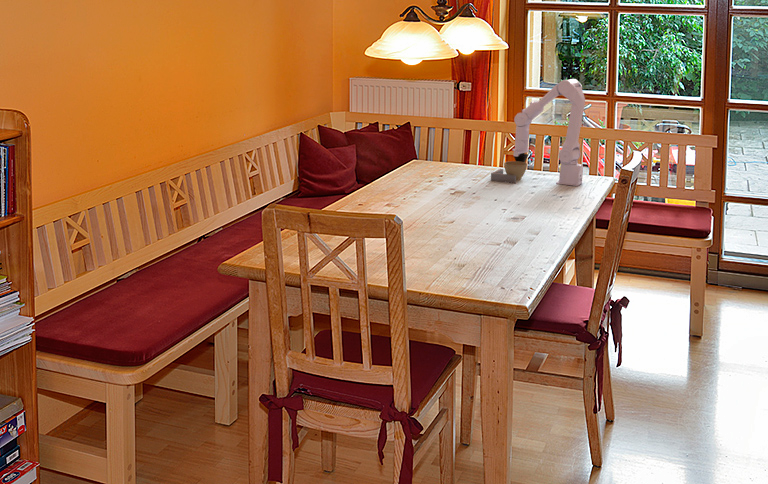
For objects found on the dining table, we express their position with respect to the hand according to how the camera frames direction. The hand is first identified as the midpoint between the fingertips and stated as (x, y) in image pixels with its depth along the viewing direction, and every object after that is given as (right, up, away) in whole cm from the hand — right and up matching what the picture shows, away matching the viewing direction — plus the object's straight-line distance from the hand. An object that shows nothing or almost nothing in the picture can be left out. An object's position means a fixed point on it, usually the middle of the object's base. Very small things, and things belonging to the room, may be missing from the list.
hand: (519, 170), depth 369 cm
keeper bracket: (-7, -5, -7) cm, 10 cm away
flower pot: (-3, -5, -5) cm, 7 cm away
